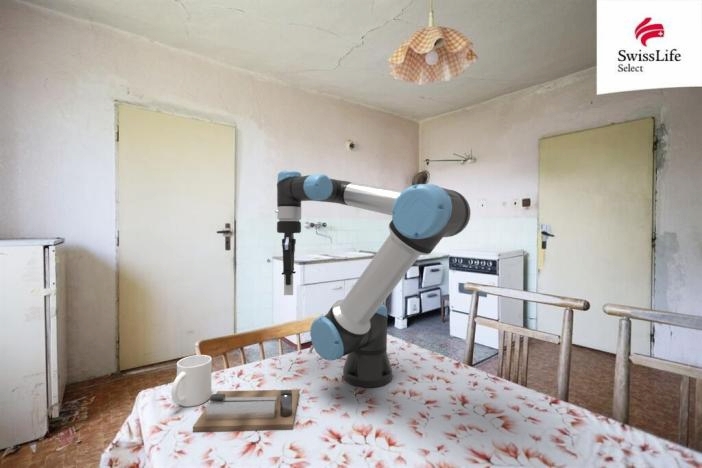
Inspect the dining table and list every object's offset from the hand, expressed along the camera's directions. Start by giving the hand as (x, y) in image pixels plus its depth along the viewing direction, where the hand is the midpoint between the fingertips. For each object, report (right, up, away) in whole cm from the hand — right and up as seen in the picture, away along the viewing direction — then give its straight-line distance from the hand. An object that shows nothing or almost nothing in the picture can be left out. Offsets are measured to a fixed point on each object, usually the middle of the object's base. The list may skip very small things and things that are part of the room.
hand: (288, 294), depth 105 cm
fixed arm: (-4, -24, -27) cm, 36 cm away
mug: (-22, -25, -19) cm, 38 cm away
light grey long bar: (-6, -23, -26) cm, 35 cm away
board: (-5, -25, -23) cm, 34 cm away
